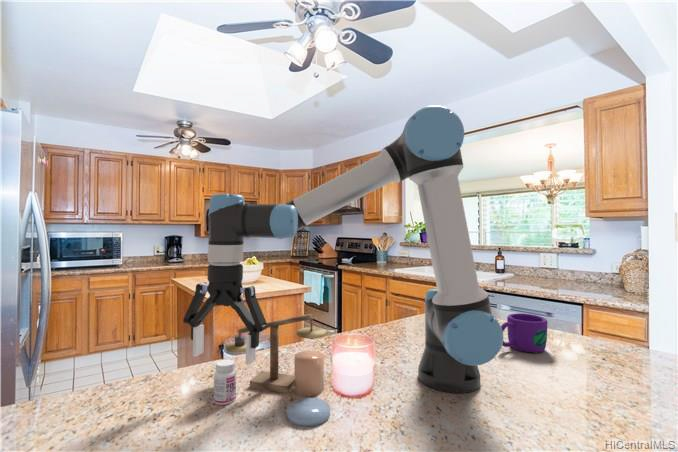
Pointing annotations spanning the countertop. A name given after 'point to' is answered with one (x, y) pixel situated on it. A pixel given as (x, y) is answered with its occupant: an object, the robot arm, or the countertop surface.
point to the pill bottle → (225, 382)
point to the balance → (275, 354)
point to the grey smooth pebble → (308, 412)
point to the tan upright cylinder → (309, 373)
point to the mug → (526, 332)
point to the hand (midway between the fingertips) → (223, 358)
